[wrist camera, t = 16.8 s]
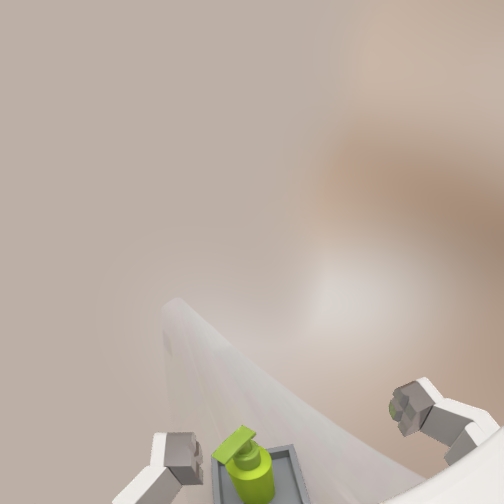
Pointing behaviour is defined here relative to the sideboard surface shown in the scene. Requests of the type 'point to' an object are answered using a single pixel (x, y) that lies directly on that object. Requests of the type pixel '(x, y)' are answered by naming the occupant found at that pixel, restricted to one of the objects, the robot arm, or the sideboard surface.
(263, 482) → the soap dispenser
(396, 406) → the robot arm
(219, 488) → the dish
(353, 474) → the sideboard surface
